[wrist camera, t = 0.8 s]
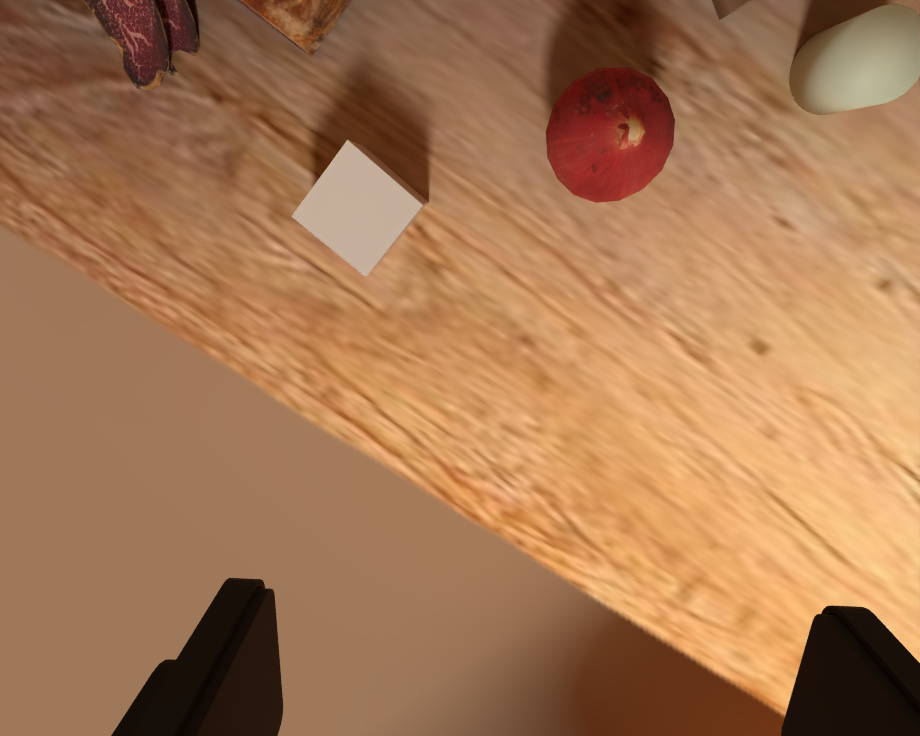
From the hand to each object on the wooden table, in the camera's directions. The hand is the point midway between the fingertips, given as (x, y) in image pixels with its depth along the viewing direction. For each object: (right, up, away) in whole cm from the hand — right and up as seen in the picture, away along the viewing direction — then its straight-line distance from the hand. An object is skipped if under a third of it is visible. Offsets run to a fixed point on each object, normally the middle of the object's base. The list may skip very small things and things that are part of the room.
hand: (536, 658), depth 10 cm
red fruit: (+6, +17, +21) cm, 27 cm away
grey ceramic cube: (-6, +14, +22) cm, 27 cm away
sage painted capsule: (+18, +20, +19) cm, 33 cm away
